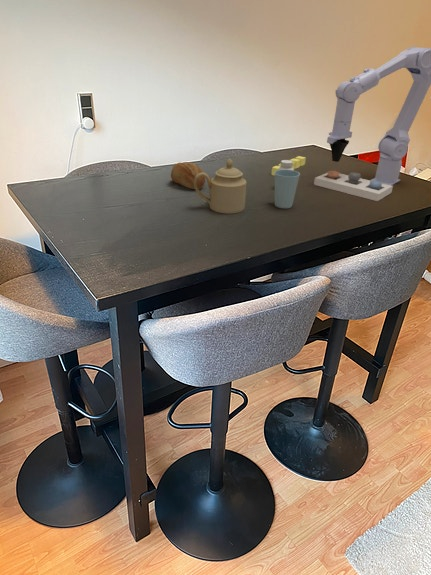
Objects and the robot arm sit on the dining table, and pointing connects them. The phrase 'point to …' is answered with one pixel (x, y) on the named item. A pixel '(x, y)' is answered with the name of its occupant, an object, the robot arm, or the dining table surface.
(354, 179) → the charcoal button
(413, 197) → the dining table surface
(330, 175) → the terracotta button
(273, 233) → the dining table surface
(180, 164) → the bread roll
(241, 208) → the sugar bowl
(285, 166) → the supplement bottle
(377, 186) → the slate blue button
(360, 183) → the button panel
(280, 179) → the cup
